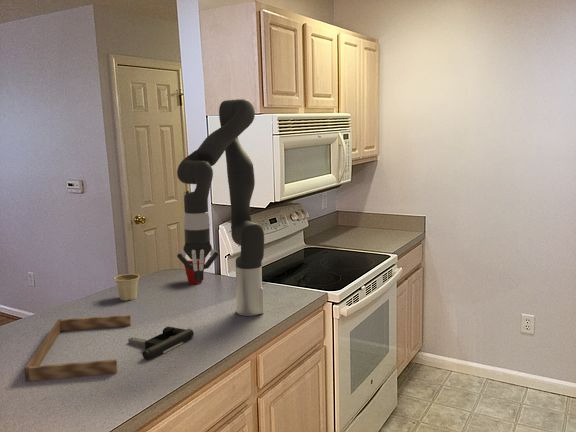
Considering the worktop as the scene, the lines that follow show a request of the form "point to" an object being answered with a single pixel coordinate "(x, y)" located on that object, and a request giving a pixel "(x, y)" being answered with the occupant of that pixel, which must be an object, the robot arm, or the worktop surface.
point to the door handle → (162, 341)
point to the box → (73, 369)
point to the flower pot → (127, 286)
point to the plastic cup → (191, 271)
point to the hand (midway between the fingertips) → (198, 281)
